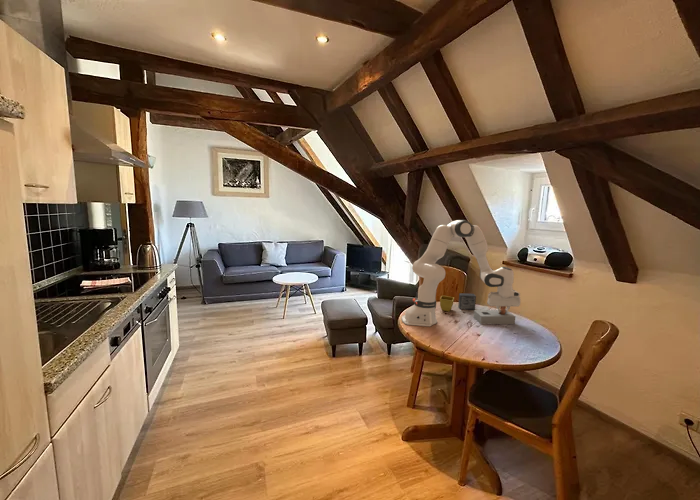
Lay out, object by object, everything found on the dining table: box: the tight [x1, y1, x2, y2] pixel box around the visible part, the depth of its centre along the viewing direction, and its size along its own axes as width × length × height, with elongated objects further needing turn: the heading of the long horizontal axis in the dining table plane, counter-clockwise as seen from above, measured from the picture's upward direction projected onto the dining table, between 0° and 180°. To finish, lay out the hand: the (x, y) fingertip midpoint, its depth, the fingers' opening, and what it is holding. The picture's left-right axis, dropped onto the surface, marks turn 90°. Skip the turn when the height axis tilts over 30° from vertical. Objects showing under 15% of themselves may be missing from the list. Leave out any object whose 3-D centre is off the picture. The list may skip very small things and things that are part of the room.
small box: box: [458, 292, 477, 311], centre depth 227 cm, size 11×6×10 cm, turn 84°
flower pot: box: [439, 295, 455, 312], centre depth 223 cm, size 9×9×9 cm
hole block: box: [473, 309, 516, 325], centre depth 205 cm, size 22×11×5 cm, turn 91°
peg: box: [499, 306, 507, 315], centre depth 204 cm, size 3×3×10 cm
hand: (502, 312), depth 205 cm, fingers closed on peg, 3 cm apart
